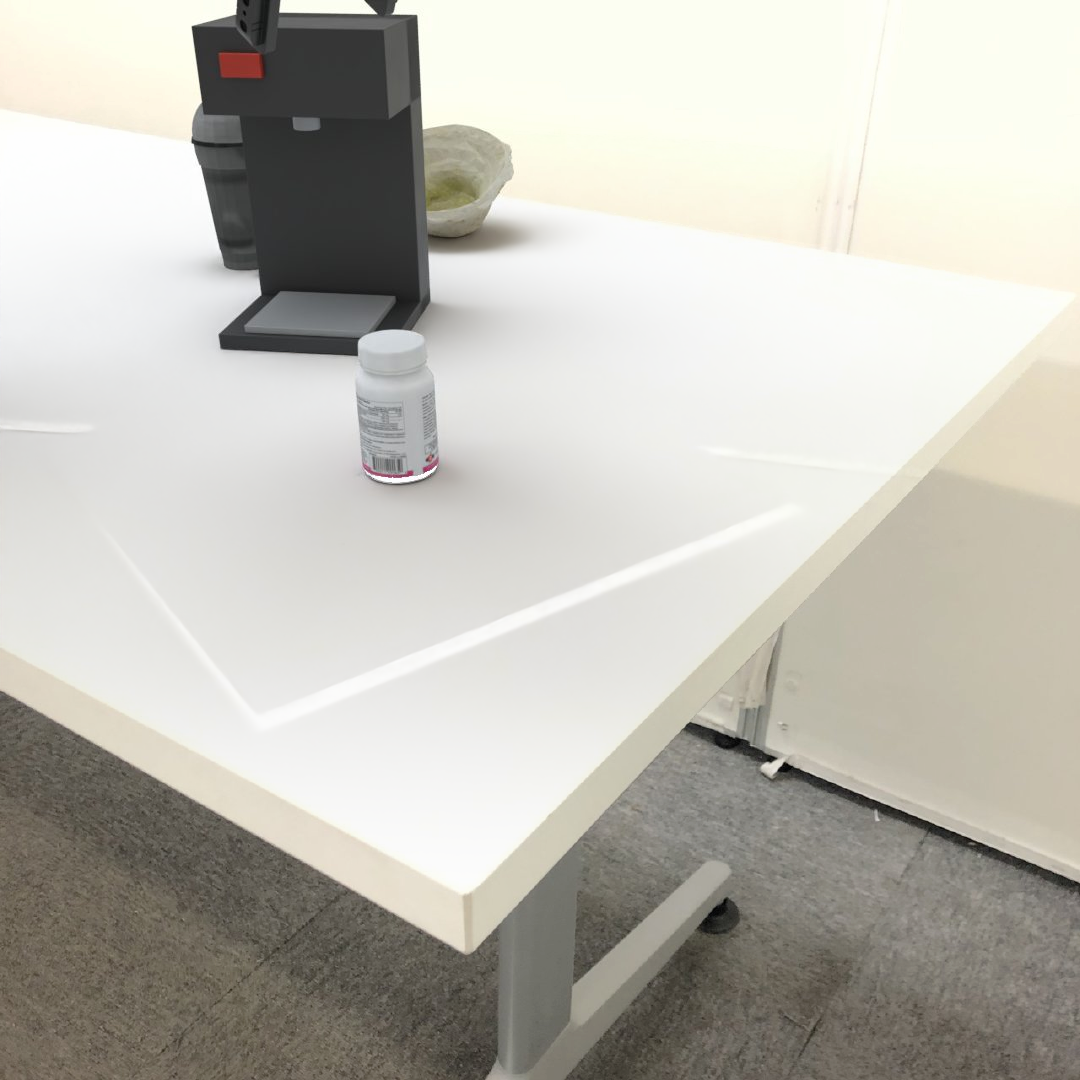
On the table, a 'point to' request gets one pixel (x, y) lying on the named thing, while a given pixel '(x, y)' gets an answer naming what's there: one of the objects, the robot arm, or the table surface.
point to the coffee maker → (326, 175)
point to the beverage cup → (226, 186)
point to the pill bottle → (396, 405)
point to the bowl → (462, 177)
